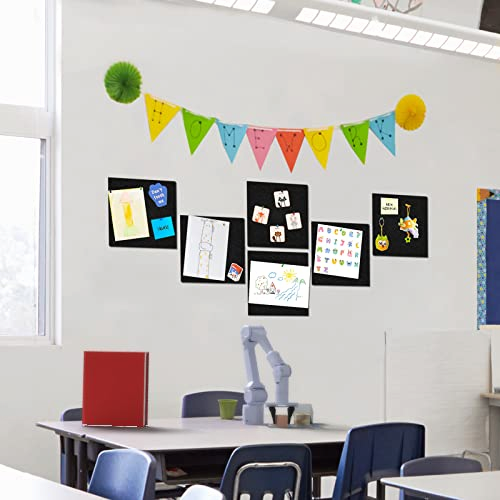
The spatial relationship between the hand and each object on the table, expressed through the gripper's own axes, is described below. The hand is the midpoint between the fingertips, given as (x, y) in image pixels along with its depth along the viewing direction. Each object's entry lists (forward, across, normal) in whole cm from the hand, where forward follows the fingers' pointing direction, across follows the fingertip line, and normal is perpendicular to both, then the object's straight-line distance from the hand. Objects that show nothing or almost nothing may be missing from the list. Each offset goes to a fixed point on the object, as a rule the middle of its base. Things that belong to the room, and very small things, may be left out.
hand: (281, 424), depth 438 cm
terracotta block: (+1, 0, 0) cm, 1 cm away
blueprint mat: (+2, +6, +3) cm, 7 cm away
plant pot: (+2, -18, +41) cm, 45 cm away
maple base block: (+1, +10, +5) cm, 11 cm away
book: (+2, -71, +9) cm, 72 cm away
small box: (-1, +14, +19) cm, 24 cm away
